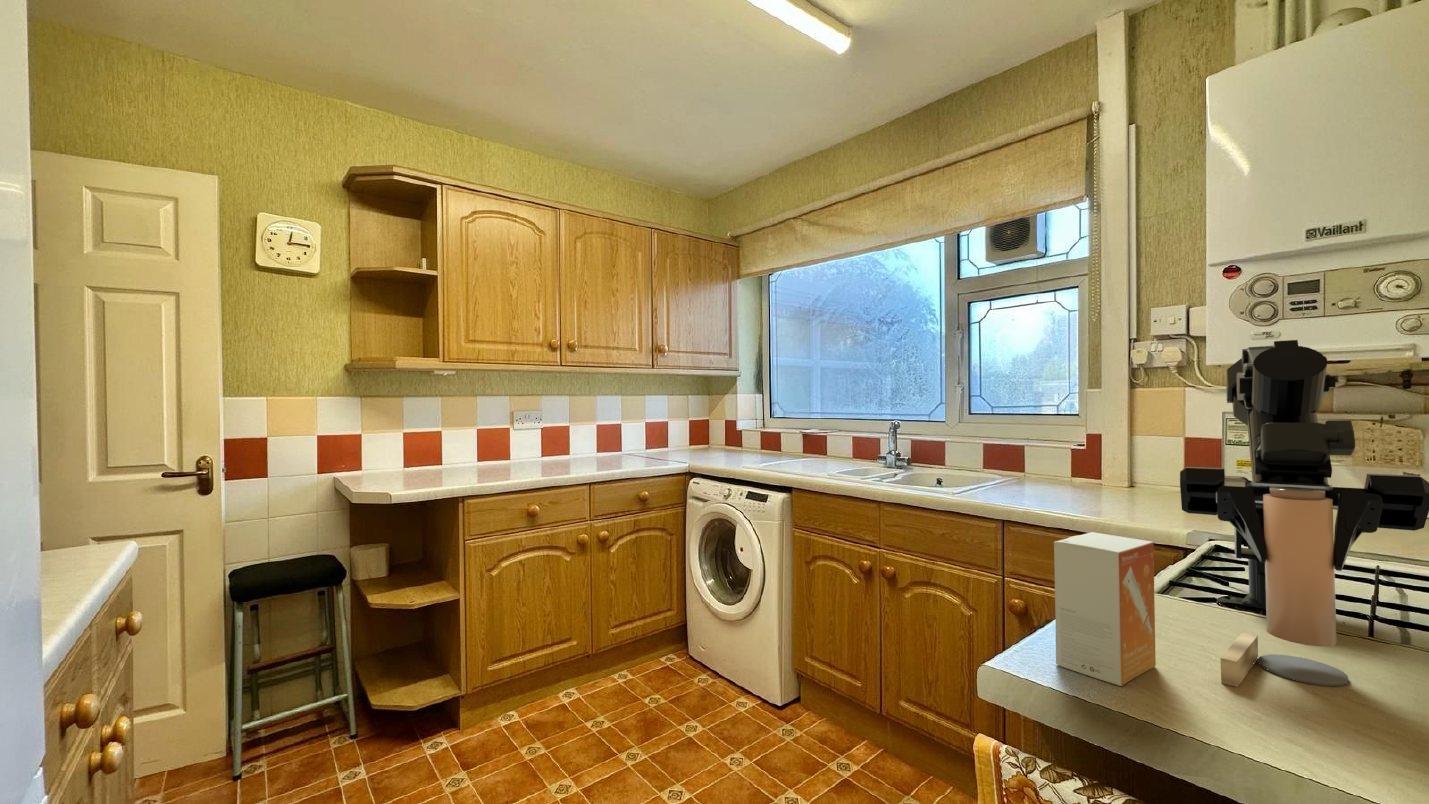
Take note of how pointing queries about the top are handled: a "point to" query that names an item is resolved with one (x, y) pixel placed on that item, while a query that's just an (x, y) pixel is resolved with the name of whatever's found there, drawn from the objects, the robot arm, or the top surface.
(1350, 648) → the top surface
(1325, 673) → the coaster
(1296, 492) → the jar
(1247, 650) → the block
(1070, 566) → the small box
